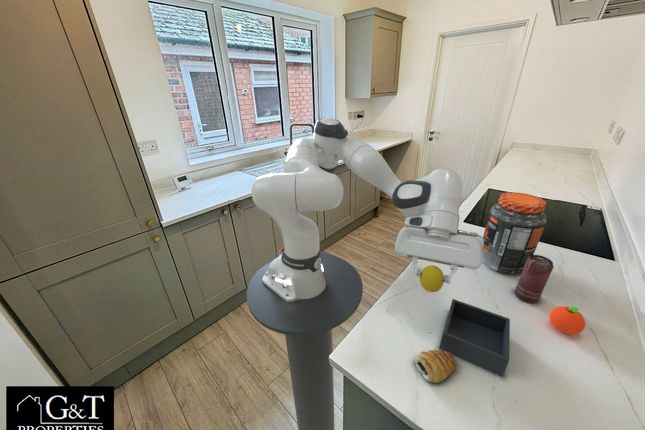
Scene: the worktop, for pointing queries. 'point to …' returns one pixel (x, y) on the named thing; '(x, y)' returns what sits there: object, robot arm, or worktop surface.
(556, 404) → the worktop surface
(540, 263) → the dark red glass cylinder
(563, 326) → the clementine
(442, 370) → the pastry
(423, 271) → the lemon
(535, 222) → the supplement tub
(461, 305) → the bin
